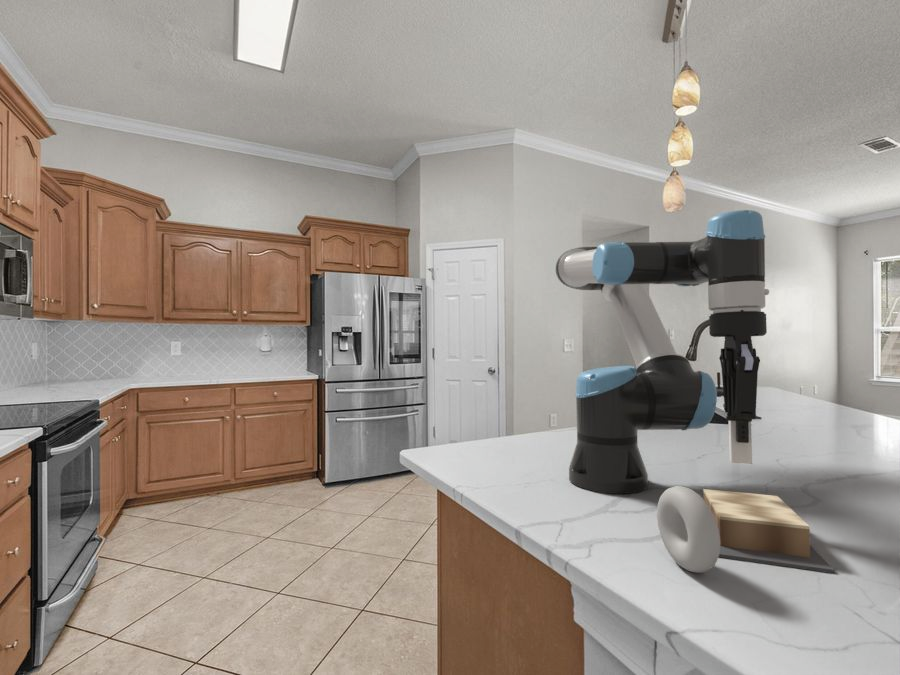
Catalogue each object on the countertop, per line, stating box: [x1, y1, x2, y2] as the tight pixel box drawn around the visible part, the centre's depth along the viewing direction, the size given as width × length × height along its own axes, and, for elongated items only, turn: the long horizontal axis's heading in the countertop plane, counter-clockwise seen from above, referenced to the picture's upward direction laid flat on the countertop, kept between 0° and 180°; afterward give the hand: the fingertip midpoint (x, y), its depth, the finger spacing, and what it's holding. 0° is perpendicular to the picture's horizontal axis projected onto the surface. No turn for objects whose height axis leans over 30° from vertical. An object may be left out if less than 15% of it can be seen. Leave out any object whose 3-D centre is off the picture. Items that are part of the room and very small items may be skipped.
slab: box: [702, 488, 811, 558], centre depth 63 cm, size 10×4×12 cm
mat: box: [718, 544, 836, 574], centre depth 62 cm, size 13×14×1 cm
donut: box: [656, 485, 721, 573], centre depth 55 cm, size 10×4×10 cm, turn 5°
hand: (740, 461), depth 68 cm, fingers closed
